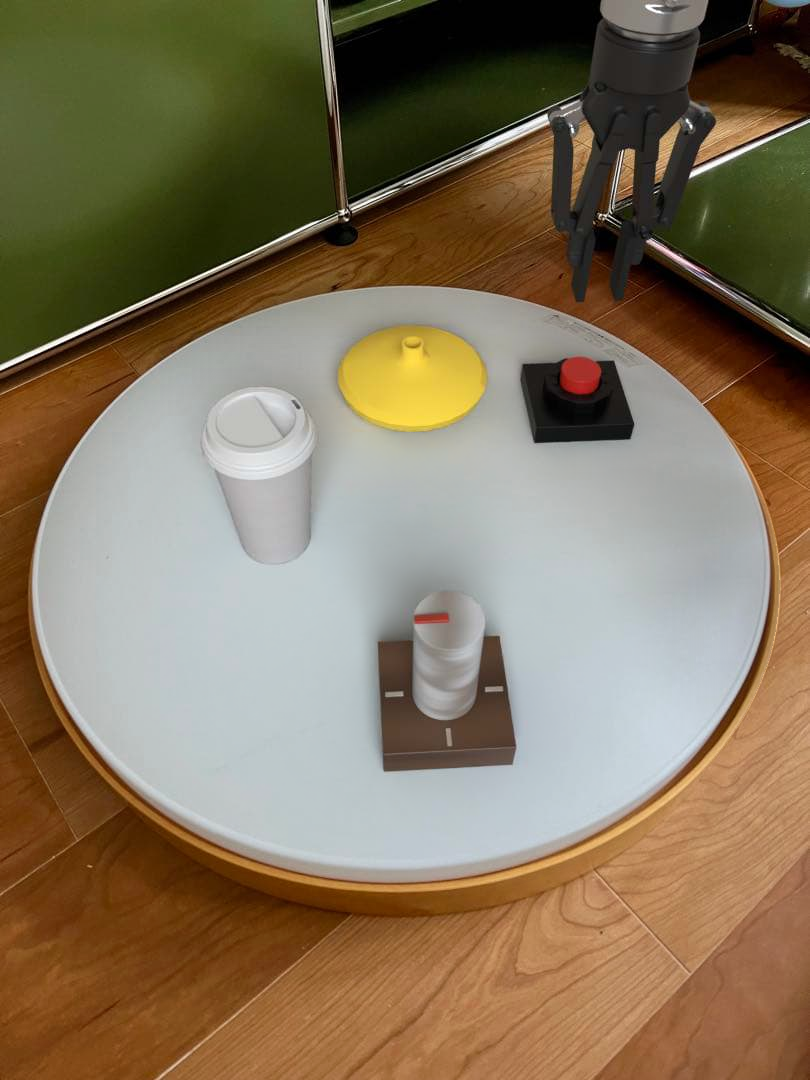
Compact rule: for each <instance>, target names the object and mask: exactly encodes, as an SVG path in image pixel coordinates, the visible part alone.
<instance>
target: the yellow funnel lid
mask: <svg viewBox="0 0 810 1080" xmlns="http://www.w3.org/2000/svg"><path fill="white" fill-rule="evenodd" d="M487 382H488V372H487V368H486V364H485V362H484V361H483V358H482V357H481V355H480V354H479V353H478V352H477V350H476V349H475V348H473V347H472V346H471V345H470V344H469V343H467V342H466V341H465V340H464V339H463V338H461V337H459V336H457V335H455V334H453V333H451V332H449V331H447V330H443V329H439V328H436V327H432V326H425V325H412V324H411V325H397V326H393V327H387V328H384V329H380V330H378V331H376V332H374V333H371V334H368V335H366V336H365V337H363V338H362V339H360V341H358V342H357V343H355V344H354V345H353V346H352V347H351V348H350V349H348V351H347V352H346V354H345V355H343V357H342V359H341V361H340V364H339V366H338V370H337V384H338V387H339V389H340V391H341V393H342V395H343V397H344V400H345V402H346V404H347V406H349V408H351V410H353V411H354V413H356V414H357V416H359V417H361V418H362V419H364V420H366V421H367V422H369V423H371V424H372V425H376V426H379V427H382V428H385V429H387V430H391V431H398V432H408V433H412V432H414V433H415V432H429V431H433V430H438V429H441V428H445V427H448V426H451V425H453V424H454V423H456V422H459V421H461V420H462V419H464V418H465V417H466V416H468V414H470V413H471V412H472V411H473V410H474V409H475V408H476V406H477V405H478V403H479V401H480V400H481V398H482V397H483V395H484V393H485V391H486V389H487V388H486V387H487Z"/></svg>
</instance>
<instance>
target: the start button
mask: <svg viewBox="0 0 810 1080" xmlns="http://www.w3.org/2000/svg"><path fill="white" fill-rule="evenodd" d="M595 361H596V360H594V359H591V358H589V357H586V356H585V357H584V356H573V357H570V359H568V360H566V361H565V362H564V363H563V365H562V368H561V374H560V380H559V381H560V385H561V386H562V388H563V389H564V390H566V391H568V392H571V393H574V394H577V395H578V394H590V393H592V392H594V391H595V390H596V389H597V388H598V384H599V380H600V375H601V368H600V366H599V365H598V364H597V363H596V362H595Z"/></svg>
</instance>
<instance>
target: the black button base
mask: <svg viewBox="0 0 810 1080" xmlns="http://www.w3.org/2000/svg"><path fill="white" fill-rule="evenodd" d="M570 358H571V357H570ZM570 358H569V357H568V358H563V359H561V360H559V361H556V362H535V363H522V364H521V371H520V379H519V380H520V385H521V388H522V393H523V398H524V402H525V408H526V413H527V416H528V422H529V427H530V431H531V435H532V439H533V444H552V443H575V442H577V443H578V442H603V441H622V440H623V441H625V440H631V439H632V435H633V431H634V428H635V420H634V417H633V415H632V411H631V409H630V406H629V402H628V400H627V396H626V393H625V390H624V387H623V384H622V380H621V378H620V374H619V372H618V368H617V365H616V362H615V360H613V359H611V360H594V361H595V362H596V363H597V364H598V365H599V366H600V368H601V375H600V380H599V384H598V388H597V389H596V390H595V391H594V392H592V393H590V394H578V395H577V394H574V393H571V392H568V391H566V390H564V389H563V388H562V386H561V385H560V381H559V380H560V374H561V368H562V365H563V363H564V362H565V361H566V360H568V359H570Z"/></svg>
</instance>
